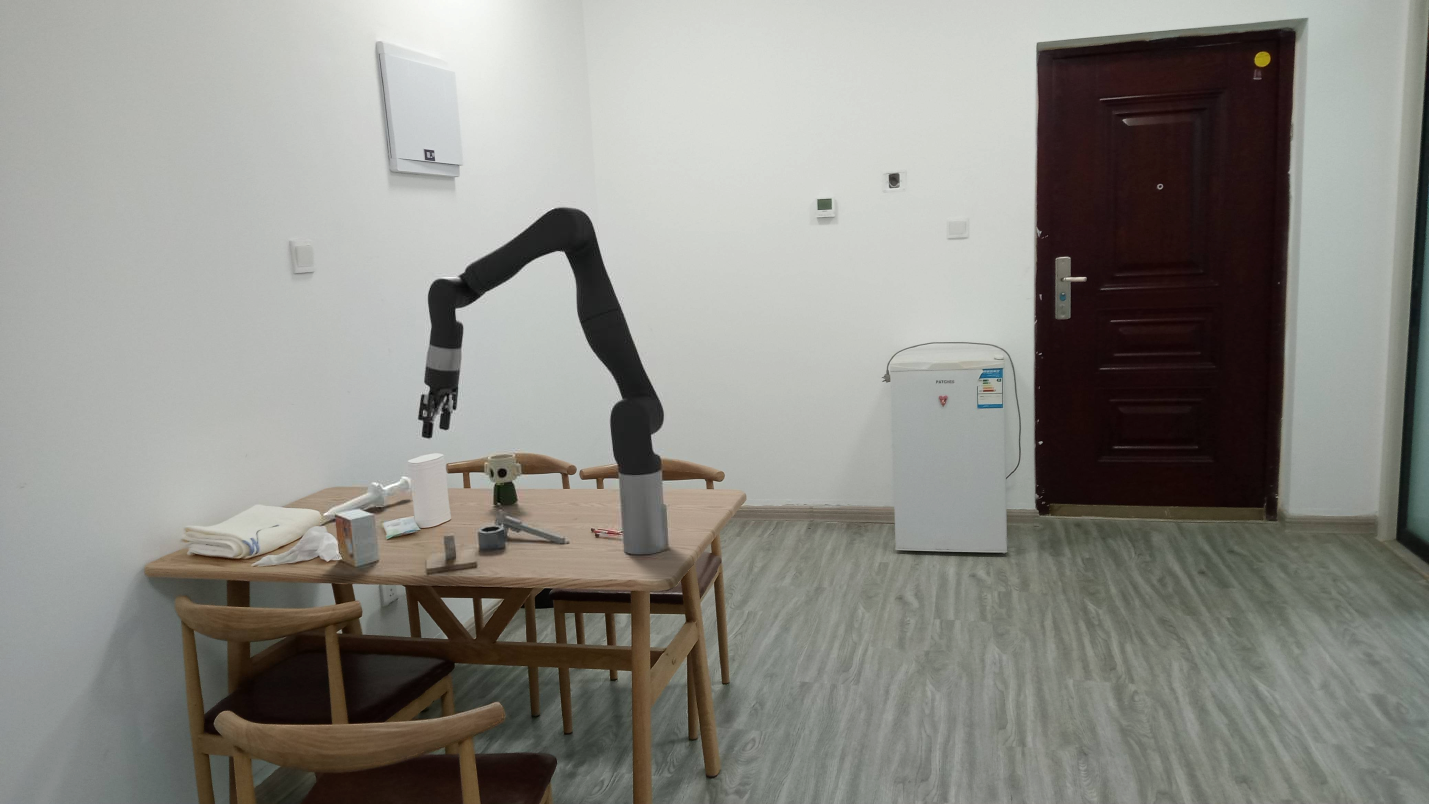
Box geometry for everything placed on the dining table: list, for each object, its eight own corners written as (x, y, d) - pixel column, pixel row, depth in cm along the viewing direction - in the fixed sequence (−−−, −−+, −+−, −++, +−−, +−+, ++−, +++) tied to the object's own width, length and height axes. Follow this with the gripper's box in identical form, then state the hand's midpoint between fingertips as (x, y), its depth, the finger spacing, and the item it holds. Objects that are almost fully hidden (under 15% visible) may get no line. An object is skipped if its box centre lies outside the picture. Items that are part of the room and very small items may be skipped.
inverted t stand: (474, 552, 205) (472, 526, 204) (477, 566, 195) (474, 538, 194) (426, 559, 202) (424, 532, 201) (427, 573, 192) (424, 545, 191)
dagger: (330, 521, 232) (423, 479, 253) (316, 502, 234) (409, 463, 255) (323, 537, 237) (415, 496, 258) (310, 519, 239) (402, 479, 260)
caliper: (495, 536, 217) (493, 510, 216) (498, 535, 218) (496, 509, 217) (567, 545, 208) (564, 517, 207) (570, 543, 209) (567, 516, 208)
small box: (339, 560, 204) (333, 513, 203) (364, 553, 208) (358, 507, 207) (354, 567, 199) (349, 519, 197) (380, 560, 202) (374, 513, 201)
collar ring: (503, 541, 212) (502, 524, 211) (506, 548, 207) (504, 530, 206) (478, 544, 210) (477, 527, 210) (480, 551, 205) (478, 534, 204)
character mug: (480, 507, 243) (475, 458, 241) (495, 500, 249) (491, 453, 247) (516, 509, 239) (512, 460, 237) (531, 502, 246) (527, 454, 244)
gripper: (444, 373, 203) (436, 444, 207) (472, 363, 217) (464, 430, 221) (412, 366, 204) (405, 437, 208) (442, 356, 218) (434, 423, 222)
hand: (435, 433), depth 214 cm, fingers open, 8 cm apart
